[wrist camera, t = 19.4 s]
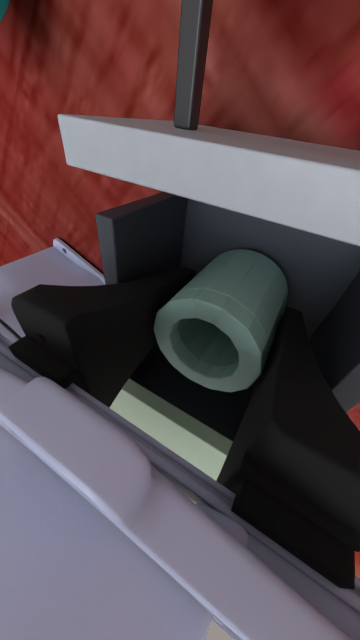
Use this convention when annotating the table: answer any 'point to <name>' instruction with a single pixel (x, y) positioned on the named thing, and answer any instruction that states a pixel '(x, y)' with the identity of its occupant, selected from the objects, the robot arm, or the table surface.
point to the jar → (224, 321)
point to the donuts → (3, 8)
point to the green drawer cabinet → (173, 428)
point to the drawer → (229, 222)
